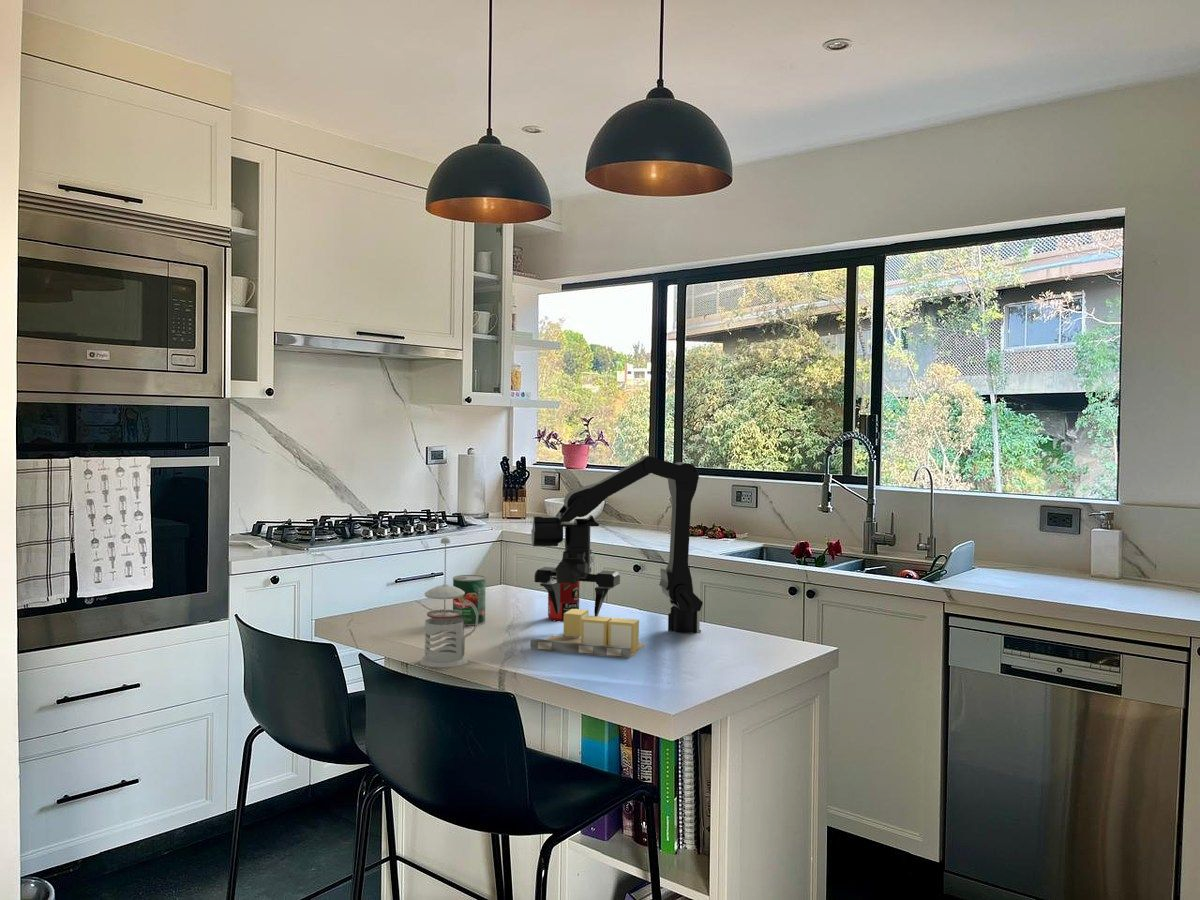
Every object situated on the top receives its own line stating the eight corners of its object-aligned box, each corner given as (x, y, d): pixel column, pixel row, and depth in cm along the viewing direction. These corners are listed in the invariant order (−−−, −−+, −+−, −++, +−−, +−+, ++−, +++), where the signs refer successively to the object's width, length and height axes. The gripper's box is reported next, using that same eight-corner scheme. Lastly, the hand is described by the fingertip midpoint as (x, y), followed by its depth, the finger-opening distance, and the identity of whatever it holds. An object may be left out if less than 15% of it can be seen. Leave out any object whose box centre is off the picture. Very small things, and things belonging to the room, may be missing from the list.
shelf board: (645, 648, 191) (645, 634, 191) (629, 663, 178) (629, 648, 178) (552, 640, 197) (552, 626, 197) (529, 654, 185) (530, 639, 185)
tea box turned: (571, 634, 203) (571, 608, 203) (588, 636, 202) (588, 610, 202) (563, 640, 198) (563, 613, 198) (580, 641, 197) (581, 614, 196)
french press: (424, 654, 183) (425, 534, 183) (480, 655, 183) (482, 534, 183) (414, 667, 174) (415, 540, 173) (473, 668, 173) (475, 540, 173)
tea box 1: (611, 645, 189) (611, 617, 189) (605, 649, 185) (606, 621, 185) (587, 643, 191) (587, 615, 191) (580, 647, 187) (581, 619, 187)
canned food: (566, 623, 214) (566, 578, 214) (541, 619, 219) (541, 574, 219) (585, 618, 221) (586, 574, 220) (560, 614, 225) (561, 571, 225)
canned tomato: (485, 618, 219) (486, 574, 219) (485, 625, 211) (485, 579, 211) (453, 619, 218) (453, 574, 218) (451, 626, 210) (452, 580, 210)
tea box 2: (638, 647, 187) (639, 619, 187) (633, 652, 183) (633, 623, 183) (613, 645, 189) (614, 617, 189) (608, 650, 185) (608, 621, 185)
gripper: (525, 548, 195) (524, 619, 195) (606, 552, 189) (605, 625, 189) (543, 542, 205) (543, 609, 206) (621, 546, 200) (620, 615, 200)
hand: (576, 615), depth 200 cm, fingers open, 9 cm apart
